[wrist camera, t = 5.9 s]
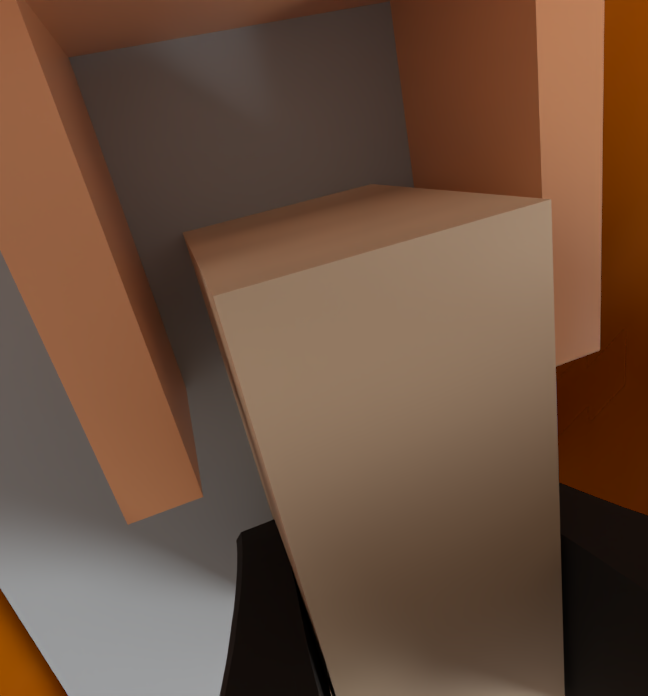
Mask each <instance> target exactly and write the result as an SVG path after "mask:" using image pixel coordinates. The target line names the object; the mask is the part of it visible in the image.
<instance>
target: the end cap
mask: <svg viewBox="0 0 648 696" xmlns="http://www.w3.org/2000/svg"><path fill="white" fill-rule="evenodd" d="M389 1H390V6H391V14H392V21H393V29H394V37H395V44H396V52H397V60H398V68H399V75H400V83H401V91H402V98H403V106H404V114H405V121H406V129H407V137H408V144H409V152H410V160H411V168H412V175H413V183H414V188H424V189H436V190H448V191H460V192H471V193H483V194H495V195H507V196H519V197H531V198H542V199H551V208H552V245H553V282H554V319H555V356H556V366H559V365H561V364H564V363H567V362H570V361H572V360H575V359H578V358H580V357H583V356H586V355H588V354H591V353H594V352H597V351H599V350H600V321H601V237H602V154H603V71H604V0H0V251H1V253H2V255H3V257H4V260H5V262H6V264H7V266H8V268H9V270H10V272H11V275H12V277H13V279H14V281H15V283H16V285H17V288H18V290H19V292H20V294H21V296H22V298H23V300H24V303H25V305H26V307H27V309H28V311H29V313H30V316H31V318H32V320H33V322H34V324H35V326H36V328H37V331H38V333H39V335H40V337H41V339H42V341H43V344H44V346H45V348H46V350H47V352H48V354H49V356H50V359H51V361H52V363H53V365H54V367H55V369H56V372H57V374H58V376H59V378H60V380H61V382H62V384H63V387H64V389H65V391H66V393H67V395H68V397H69V400H70V402H71V404H72V406H73V408H74V410H75V412H76V415H77V417H78V419H79V421H80V423H81V425H82V428H83V430H84V432H85V434H86V436H87V438H88V440H89V443H90V445H91V447H92V449H93V451H94V453H95V455H96V458H97V460H98V462H99V464H100V466H101V468H102V471H103V473H104V475H105V477H106V479H107V481H108V483H109V486H110V488H111V490H112V492H113V494H114V496H115V499H116V501H117V503H118V505H119V507H120V509H121V511H122V514H123V516H124V518H125V520H126V522H127V524H128V525H129V524H131V523H134V522H137V521H139V520H142V519H145V518H148V517H150V516H153V515H156V514H158V513H161V512H164V511H167V510H169V509H172V508H175V507H177V506H180V505H183V504H185V503H188V502H191V501H194V500H196V499H199V498H202V497H203V492H202V485H201V479H200V473H199V467H198V460H197V454H196V448H195V441H194V435H193V429H192V423H191V416H190V410H189V404H188V397H187V391H186V386H185V383H184V381H183V378H182V375H181V372H180V369H179V367H178V364H177V361H176V358H175V355H174V352H173V350H172V347H171V344H170V341H169V338H168V336H167V333H166V330H165V327H164V324H163V322H162V319H161V316H160V313H159V310H158V308H157V305H156V302H155V299H154V296H153V293H152V291H151V288H150V285H149V282H148V279H147V277H146V274H145V271H144V268H143V265H142V263H141V260H140V257H139V254H138V251H137V248H136V246H135V243H134V240H133V237H132V234H131V232H130V229H129V226H128V223H127V220H126V218H125V215H124V212H123V209H122V206H121V204H120V201H119V198H118V195H117V192H116V189H115V187H114V184H113V181H112V178H111V175H110V173H109V170H108V167H107V164H106V161H105V159H104V156H103V153H102V150H101V147H100V145H99V142H98V139H97V136H96V133H95V130H94V128H93V125H92V122H91V119H90V116H89V114H88V111H87V108H86V105H85V102H84V100H83V97H82V94H81V91H80V88H79V86H78V83H77V80H76V77H75V74H74V71H73V69H72V66H71V63H70V60H69V57H74V56H80V55H86V54H92V53H97V52H103V51H109V50H114V49H120V48H126V47H132V46H137V45H143V44H149V43H154V42H160V41H166V40H172V39H177V38H183V37H189V36H195V35H200V34H206V33H212V32H217V31H223V30H229V29H235V28H240V27H246V26H252V25H257V24H263V23H269V22H275V21H280V20H286V19H292V18H297V17H303V16H309V15H315V14H320V13H326V12H332V11H337V10H343V9H349V8H355V7H360V6H366V5H372V4H377V3H383V2H389Z"/></svg>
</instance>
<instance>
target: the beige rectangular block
mask: <svg viewBox="0 0 648 696" xmlns="http://www.w3.org/2000/svg"><path fill="white" fill-rule="evenodd" d="M183 236H184V239H185V242H186V245H187V248H188V251H189V255H190V258H191V261H192V264H193V267H194V270H195V274H196V277H197V280H198V283H199V286H200V289H201V293H202V296H203V299H204V302H205V305H206V308H207V312H208V315H209V318H210V321H211V324H212V327H213V331H214V334H215V337H216V340H217V343H218V346H219V350H220V353H221V356H222V359H223V362H224V365H225V369H226V372H227V375H228V378H229V381H230V384H231V387H232V391H233V394H234V397H235V400H236V403H237V406H238V410H239V413H240V416H241V419H242V422H243V425H244V429H245V432H246V435H247V438H248V441H249V444H250V448H251V451H252V454H253V457H254V460H255V463H256V467H257V470H258V473H259V476H260V479H261V482H262V486H263V489H264V492H265V495H266V498H267V501H268V505H269V508H270V511H271V514H272V517H273V519H274V520H275V522H276V525H277V528H278V530H279V533H280V536H281V538H282V541H283V544H284V547H285V549H286V552H287V555H288V558H289V561H290V563H291V566H292V570H293V573H294V576H295V579H296V582H297V586H298V589H299V592H300V595H301V598H302V602H303V605H304V608H305V611H306V615H307V618H308V621H309V624H310V627H311V631H312V634H313V637H314V640H315V643H316V647H317V650H318V653H319V656H320V659H321V663H322V666H323V669H324V672H325V675H326V679H327V682H328V685H329V688H330V692H331V696H565V688H564V651H563V614H562V577H561V540H560V503H559V466H558V429H557V392H556V356H555V319H554V282H553V245H552V208H551V199H542V198H531V197H519V196H507V195H495V194H483V193H471V192H460V191H448V190H436V189H424V188H412V187H401V186H389V185H377V184H369V185H366V186H362V187H358V188H354V189H350V190H346V191H342V192H338V193H334V194H331V195H327V196H323V197H319V198H315V199H311V200H307V201H303V202H299V203H296V204H292V205H288V206H284V207H280V208H276V209H272V210H268V211H264V212H260V213H257V214H253V215H249V216H245V217H241V218H237V219H233V220H229V221H225V222H222V223H218V224H214V225H210V226H206V227H202V228H198V229H194V230H190V231H187V232H183Z"/></svg>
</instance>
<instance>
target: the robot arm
mask: <svg viewBox="0 0 648 696" xmlns="http://www.w3.org/2000/svg"><path fill="white" fill-rule="evenodd" d="M559 503H560V540H561V577H562V614H563V651H564V688H565V696H648V516H647V515H644V514H641V513H638V512H636V511H633V510H630V509H627V508H624V507H621V506H618V505H616V504H613V503H610V502H608V501H605V500H602V499H600V498H597V497H594V496H592V495H589V494H587V493H584V492H582V491H579V490H576V489H574V488H571V487H569V486H566V485H564V484H561V483H559ZM236 543H237V577H236V590H235V601H234V610H233V617H232V625H231V632H230V639H229V646H228V653H227V659H226V665H225V670H224V675H223V681H222V686H221V691H220V696H331V692H330V688H329V685H328V682H327V679H326V675H325V672H324V669H323V666H322V663H321V659H320V656H319V653H318V650H317V647H316V643H315V640H314V637H313V634H312V631H311V627H310V624H309V621H308V618H307V615H306V611H305V608H304V605H303V602H302V598H301V595H300V592H299V589H298V586H297V582H296V579H295V576H294V573H293V570H292V566H291V563H290V561H289V558H288V555H287V552H286V549H285V547H284V544H283V541H282V538H281V536H280V533H279V530H278V528H277V525H276V522H275V520H274V519H273V520H271V521H268V522H266V523H263V524H261V525H258V526H255V527H253V528H250V529H248V530H245V531H243V532H241V533H240V535H239V536H238V538H237V540H236Z"/></svg>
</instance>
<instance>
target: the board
mask: <svg viewBox="0 0 648 696" xmlns="http://www.w3.org/2000/svg"><path fill="white" fill-rule="evenodd" d="M69 60H70V63H71V66H72V69H73V71H74V74H75V77H76V80H77V83H78V86H79V88H80V91H81V94H82V97H83V100H84V102H85V105H86V108H87V111H88V114H89V116H90V119H91V122H92V125H93V128H94V130H95V133H96V136H97V139H98V142H99V145H100V147H101V150H102V153H103V156H104V159H105V161H106V164H107V167H108V170H109V173H110V175H111V178H112V181H113V184H114V187H115V189H116V192H117V195H118V198H119V201H120V204H121V206H122V209H123V212H124V215H125V218H126V220H127V223H128V226H129V229H130V232H131V234H132V237H133V240H134V243H135V246H136V248H137V251H138V254H139V257H140V260H141V263H142V265H143V268H144V271H145V274H146V277H147V279H148V282H149V285H150V288H151V291H152V293H153V296H154V299H155V302H156V305H157V308H158V310H159V313H160V316H161V319H162V322H163V324H164V327H165V330H166V333H167V336H168V338H169V341H170V344H171V347H172V350H173V352H174V355H175V358H176V361H177V364H178V367H179V369H180V372H181V375H182V378H183V381H184V383H185V386H186V391H187V397H188V404H189V410H190V416H191V423H192V429H193V435H194V441H195V448H196V454H197V460H198V467H199V473H200V479H201V485H202V492H203V497H202V498H199V499H196V500H194V501H191V502H188V503H185V504H183V505H180V506H177V507H175V508H172V509H169V510H167V511H164V512H161V513H158V514H156V515H153V516H150V517H148V518H145V519H142V520H139V521H137V522H134V523H131V524H129V525H128V524H127V522H126V520H125V518H124V516H123V514H122V511H121V509H120V507H119V505H118V503H117V501H116V499H115V496H114V494H113V492H112V490H111V488H110V486H109V483H108V481H107V479H106V477H105V475H104V473H103V471H102V468H101V466H100V464H99V462H98V460H97V458H96V455H95V453H94V451H93V449H92V447H91V445H90V443H89V440H88V438H87V436H86V434H85V432H84V430H83V428H82V425H81V423H80V421H79V419H78V417H77V415H76V412H75V410H74V408H73V406H72V404H71V402H70V400H69V397H68V395H67V393H66V391H65V389H64V387H63V384H62V382H61V380H60V378H59V376H58V374H57V372H56V369H55V367H54V365H53V363H52V361H51V359H50V356H49V354H48V352H47V350H46V348H45V346H44V344H43V341H42V339H41V337H40V335H39V333H38V331H37V328H36V326H35V324H34V322H33V320H32V318H31V316H30V313H29V311H28V309H27V307H26V305H25V303H24V300H23V298H22V296H21V294H20V292H19V290H18V288H17V285H16V283H15V281H14V279H13V277H12V275H11V272H10V270H9V268H8V266H7V264H6V262H5V260H4V257H3V255H2V253H1V251H0V589H1V590H2V592H3V593H4V595H5V596H6V598H7V600H8V601H9V603H10V604H11V606H12V608H13V609H14V611H15V612H16V614H17V615H18V617H19V619H20V620H21V622H22V623H23V625H24V626H25V628H26V630H27V631H28V633H29V634H30V636H31V637H32V639H33V641H34V642H35V644H36V645H37V647H38V649H39V650H40V652H41V653H42V655H43V656H44V658H45V660H46V661H47V663H48V664H49V666H50V667H51V669H52V671H53V672H54V674H55V675H56V677H57V678H58V680H59V682H60V683H61V685H62V686H63V688H64V690H65V691H66V693H67V694H68V696H220V691H221V686H222V681H223V675H224V670H225V665H226V659H227V653H228V646H229V639H230V632H231V625H232V617H233V610H234V601H235V590H236V577H237V543H236V540H237V538H238V536H239V535H240V533H241V532H243V531H245V530H248V529H250V528H253V527H255V526H258V525H261V524H263V523H266V522H268V521H271V520H273V517H272V514H271V511H270V508H269V505H268V501H267V498H266V495H265V492H264V489H263V486H262V482H261V479H260V476H259V473H258V470H257V467H256V463H255V460H254V457H253V454H252V451H251V448H250V444H249V441H248V438H247V435H246V432H245V429H244V425H243V422H242V419H241V416H240V413H239V410H238V406H237V403H236V400H235V397H234V394H233V391H232V387H231V384H230V381H229V378H228V375H227V372H226V369H225V365H224V362H223V359H222V356H221V353H220V350H219V346H218V343H217V340H216V337H215V334H214V331H213V327H212V324H211V321H210V318H209V315H208V312H207V308H206V305H205V302H204V299H203V296H202V293H201V289H200V286H199V283H198V280H197V277H196V274H195V270H194V267H193V264H192V261H191V258H190V255H189V251H188V248H187V245H186V242H185V239H184V236H183V232H187V231H190V230H194V229H198V228H202V227H206V226H210V225H214V224H218V223H222V222H225V221H229V220H233V219H237V218H241V217H245V216H249V215H253V214H257V213H260V212H264V211H268V210H272V209H276V208H280V207H284V206H288V205H292V204H296V203H299V202H303V201H307V200H311V199H315V198H319V197H323V196H327V195H331V194H334V193H338V192H342V191H346V190H350V189H354V188H358V187H362V186H366V185H369V184H377V185H389V186H401V187H412V188H414V183H413V175H412V168H411V160H410V152H409V144H408V137H407V129H406V121H405V114H404V106H403V98H402V91H401V83H400V75H399V68H398V60H397V52H396V44H395V37H394V29H393V21H392V14H391V6H390V1H389V2H383V3H377V4H372V5H366V6H360V7H355V8H349V9H343V10H337V11H332V12H326V13H320V14H315V15H309V16H303V17H297V18H292V19H286V20H280V21H275V22H269V23H263V24H257V25H252V26H246V27H240V28H235V29H229V30H223V31H217V32H212V33H206V34H200V35H195V36H189V37H183V38H177V39H172V40H166V41H160V42H154V43H149V44H143V45H137V46H132V47H126V48H120V49H114V50H109V51H103V52H97V53H92V54H86V55H80V56H74V57H69Z"/></svg>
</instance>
